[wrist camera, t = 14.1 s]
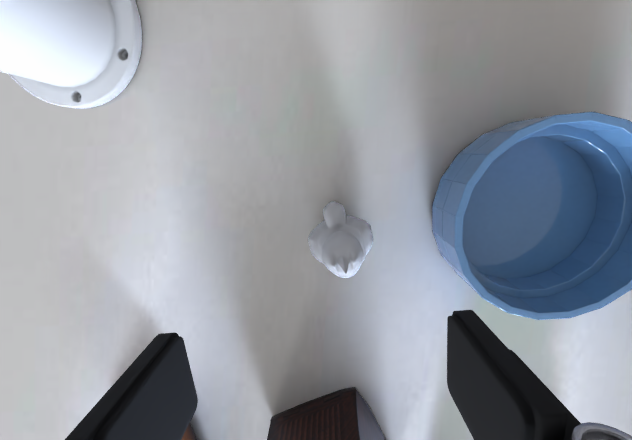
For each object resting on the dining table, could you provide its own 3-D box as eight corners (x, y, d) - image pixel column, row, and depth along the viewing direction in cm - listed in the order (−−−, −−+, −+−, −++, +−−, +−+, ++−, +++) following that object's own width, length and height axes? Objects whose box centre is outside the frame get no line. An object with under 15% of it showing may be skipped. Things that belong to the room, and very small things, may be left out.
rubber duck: (318, 268, 28) (314, 312, 20) (302, 202, 27) (291, 223, 19) (374, 257, 28) (392, 298, 20) (360, 189, 26) (374, 204, 18)
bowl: (430, 130, 25) (456, 124, 20) (619, 112, 24) (698, 101, 19) (431, 293, 28) (453, 324, 23) (597, 283, 27) (658, 313, 22)
